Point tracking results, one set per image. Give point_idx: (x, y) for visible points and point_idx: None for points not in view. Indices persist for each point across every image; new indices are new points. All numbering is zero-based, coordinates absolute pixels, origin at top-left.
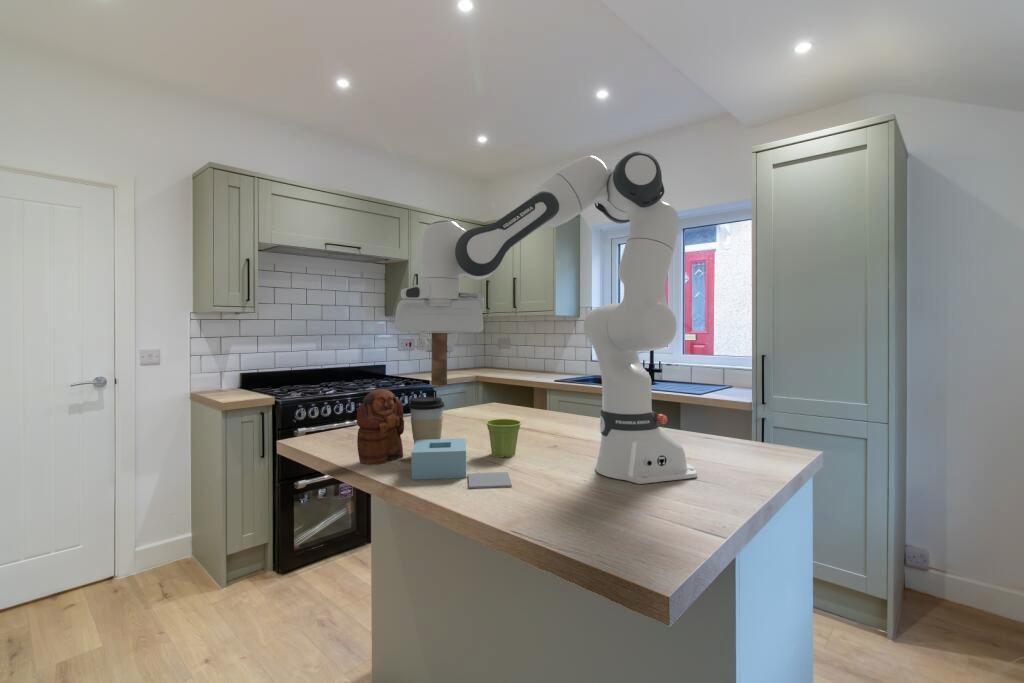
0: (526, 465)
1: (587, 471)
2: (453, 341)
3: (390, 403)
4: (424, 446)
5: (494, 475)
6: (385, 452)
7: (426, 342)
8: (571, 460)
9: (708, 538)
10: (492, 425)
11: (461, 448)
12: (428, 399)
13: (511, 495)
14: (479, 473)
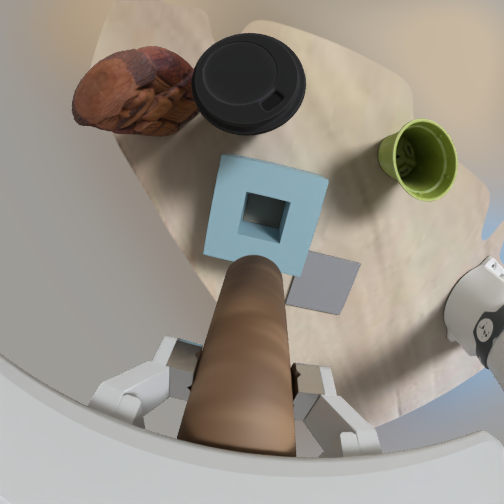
0: (402, 233)
1: (445, 287)
2: (320, 435)
3: (137, 103)
4: (231, 218)
5: (336, 273)
6: (170, 130)
7: (157, 402)
8: (459, 235)
9: (392, 416)
10: (398, 180)
11: (297, 259)
12: (253, 76)
13: (325, 336)
14: (319, 255)
